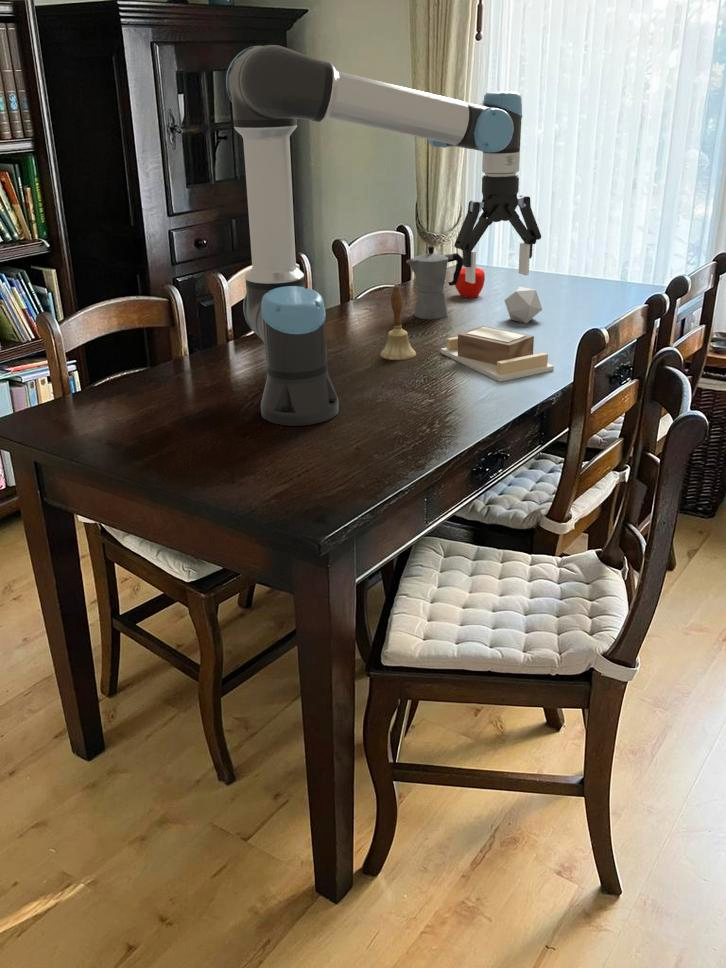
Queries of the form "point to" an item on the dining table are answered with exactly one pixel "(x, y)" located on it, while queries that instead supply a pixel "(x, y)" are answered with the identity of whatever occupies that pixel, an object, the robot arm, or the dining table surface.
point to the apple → (470, 284)
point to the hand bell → (397, 333)
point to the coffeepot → (433, 282)
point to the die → (523, 304)
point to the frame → (494, 344)
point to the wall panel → (502, 363)
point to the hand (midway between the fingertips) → (497, 278)
